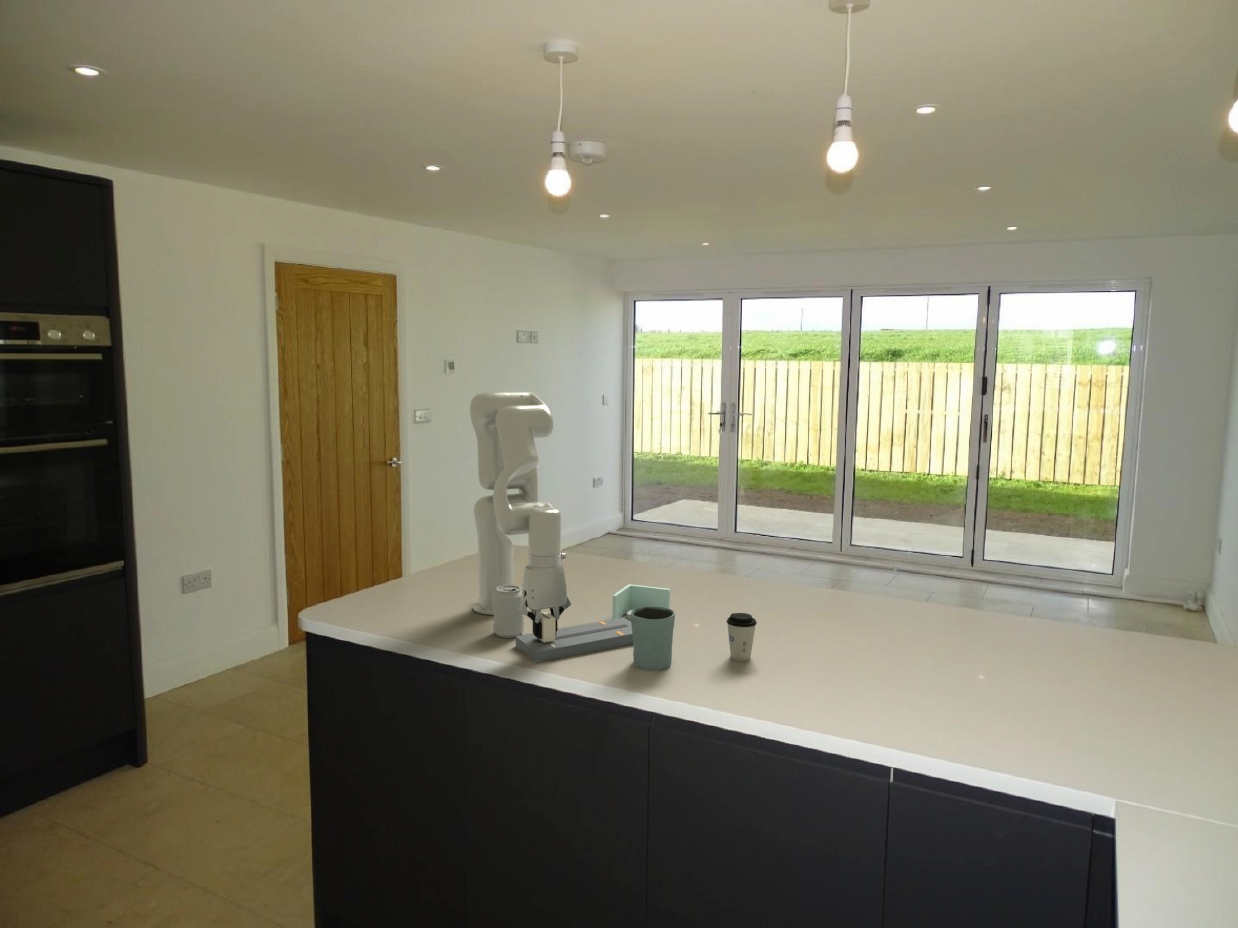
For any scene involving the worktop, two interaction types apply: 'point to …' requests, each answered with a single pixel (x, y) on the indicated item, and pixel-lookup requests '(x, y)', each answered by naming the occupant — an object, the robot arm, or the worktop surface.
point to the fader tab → (547, 627)
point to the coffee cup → (741, 635)
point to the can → (508, 611)
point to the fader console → (578, 639)
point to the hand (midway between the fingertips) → (545, 635)
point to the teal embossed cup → (652, 637)
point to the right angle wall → (639, 599)
